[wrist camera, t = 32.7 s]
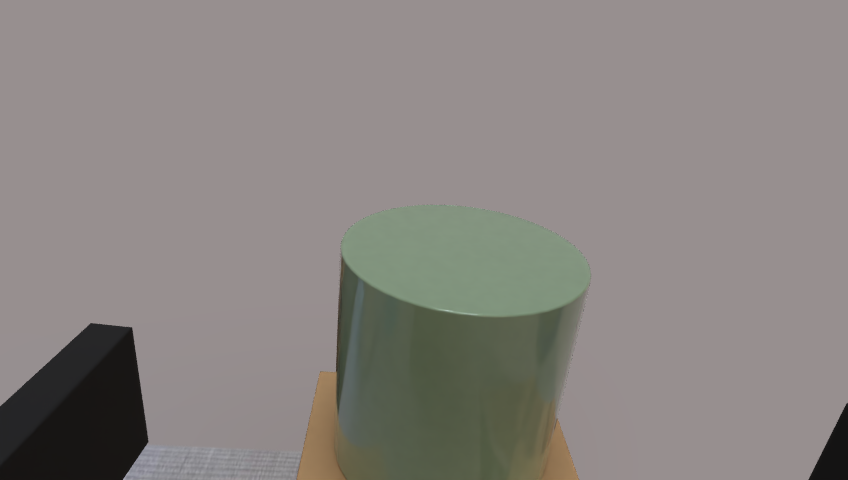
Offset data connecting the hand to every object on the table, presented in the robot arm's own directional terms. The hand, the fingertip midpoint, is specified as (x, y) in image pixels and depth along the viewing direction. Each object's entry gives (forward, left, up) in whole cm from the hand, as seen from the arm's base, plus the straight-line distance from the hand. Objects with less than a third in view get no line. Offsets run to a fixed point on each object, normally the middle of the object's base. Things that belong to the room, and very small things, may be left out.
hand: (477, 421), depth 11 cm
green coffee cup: (+5, -8, -8) cm, 12 cm away
